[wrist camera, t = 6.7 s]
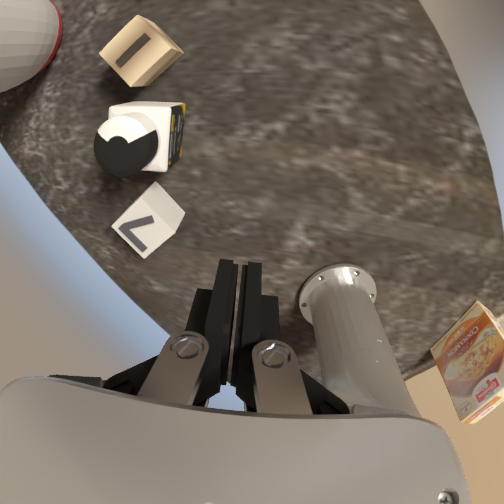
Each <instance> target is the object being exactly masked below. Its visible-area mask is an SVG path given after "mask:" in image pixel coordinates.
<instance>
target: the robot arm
mask: <svg viewBox="0 0 504 504" xmlns="http://www.w3.org/2000/svg"><path fill="white" fill-rule="evenodd" d="M261 273H262V263H255V262H248V265H243V266H242V275H241V284H240V294H239V303H238V312H237V321H236V331H235V342H234V353H233V365H232V376H231V386H236V395H237V396H238V397H239V398H240V399H241V400H243V401H244V410H245V411H244V412H243V411H233V410H223V409H215V408H207V406H208V403H209V398H210V397H212V396H214V395H215V394H217V393H218V392H220V385H226V381H227V373H228V364H229V355H230V346H231V338H232V329H233V321H234V310H235V298H236V286H237V275H238V264H233V260H226V259H220V261H219V265H218V270H217V274H216V278H215V283H214V287H213V290H208V289H199V288H198V289H197V291H196V294H195V298H194V301H193V305H192V308H191V311H190V315H189V318H188V322H187V325H186V329H185V331H181V332H178V333H175V334H173V335H172V336H170V337H169V339H168V340H167V341H166V343H165V345H164V347H163V349H162V350H161V352H160V354H159V355H157V356H155V357H153V358H151V359H149V360H147V361H145V362H143V363H140V364H138V365H136V366H134V367H132V368H129V369H127V370H125V371H123V372H121V373H118V374H116V375H114V376H112V377H111V378H109V379H108V380H102V379H101V377H82V376H68V375H50V376H47V377H43V376H35V377H24V378H19V379H16V380H14V381H11V382H10V383H9V384H7V385H6V386H5V387H4V388H3V389H2V390H1V391H0V504H471V500H470V494H469V490H468V486H467V482H466V478H465V475H464V471H463V468H462V465H461V462H460V459H459V456H458V454H457V451H456V449H455V447H454V445H453V443H452V440H451V439H450V437H449V436H448V434H447V432H446V431H445V430H444V429H443V428H442V427H441V426H439V425H438V424H436V423H434V422H432V421H430V420H427V419H424V418H422V417H421V415H420V413H419V411H418V409H417V408H416V406H415V404H414V402H413V400H412V398H411V396H410V394H409V392H408V390H407V387H406V385H405V382H404V380H403V377H402V375H401V372H400V370H399V367H398V364H397V362H396V359H395V357H394V354H393V352H392V349H391V347H390V344H389V341H388V339H387V336H386V334H385V331H384V329H383V326H382V324H381V321H380V319H379V317H378V314H377V312H376V309H375V307H374V305H373V304H374V302H375V299H376V292H377V290H376V285H375V282H374V280H373V278H372V277H371V275H370V274H369V273H368V272H367V271H366V270H365V269H363V268H361V267H359V266H356V265H353V264H335V265H331V266H328V267H325V268H323V269H321V270H319V271H317V272H316V273H314V274H313V275H312V276H311V277H310V278H309V279H308V280H307V281H306V282H305V284H304V285H303V287H302V289H301V292H300V294H299V307H300V310H301V313H302V315H303V317H304V318H305V319H306V320H307V321H308V322H310V323H311V324H312V325H313V328H314V334H315V339H316V345H317V350H318V356H319V362H320V368H321V374H322V380H323V386H322V385H321V384H320V383H318V382H317V381H316V380H314V379H313V378H311V377H310V376H309V375H307V374H306V373H305V372H303V371H302V370H301V369H299V365H298V362H297V358H296V355H295V353H294V351H293V349H292V348H291V347H290V346H289V345H287V344H286V343H284V342H281V341H280V324H279V306H278V297H277V296H267V295H261Z"/></svg>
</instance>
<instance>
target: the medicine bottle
mask: <svg viewBox="0 0 504 504" xmlns="http://www.w3.org/2000/svg"><path fill="white" fill-rule="evenodd" d="M184 115H185V104H184V103H176V102H145V101H134V102H129V103H124V104H119V105H114V106H111V107H110V108H109V118H108V120H107V121H106V122H104V123H103V124H102V125H101V127H100V128H99V129H98V131H97V133H96V136H95V139H94V153H95V157H96V159H97V162H98V163H99V165H100V166H101V167H102V169H103V170H105V171H106V172H107V173H109V174H111V175H113V176H116V177H130V176H133V175H135V174H136V173H138V172H139V171H141V170H144V171H156V172H166V171H167V170H168V169H169V168H170V167H171V166H172V165H173V164H174V163H175V162H176V161H177V160H178V159H179V158H180V157H181V151H182V138H183V126H184Z"/></svg>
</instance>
